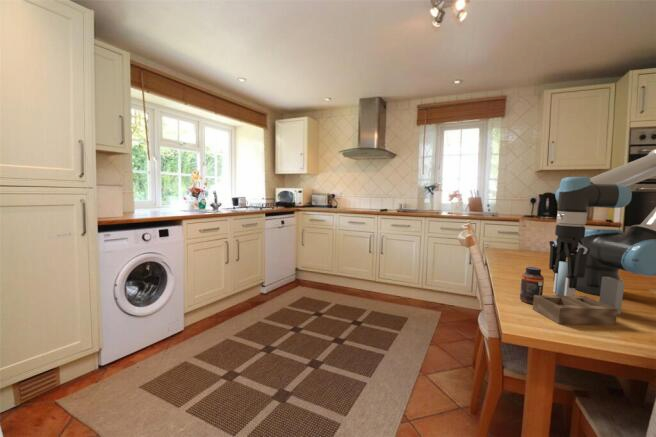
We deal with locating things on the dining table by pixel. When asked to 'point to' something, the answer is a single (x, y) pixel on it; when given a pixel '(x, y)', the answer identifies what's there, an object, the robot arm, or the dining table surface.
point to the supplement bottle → (531, 284)
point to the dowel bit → (562, 278)
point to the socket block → (574, 310)
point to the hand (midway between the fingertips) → (563, 294)
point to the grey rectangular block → (612, 292)
